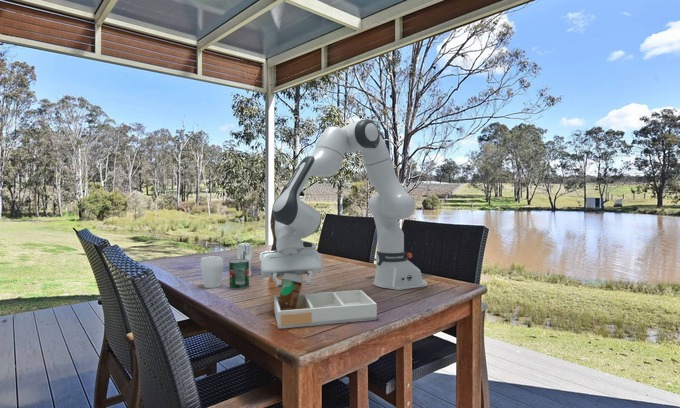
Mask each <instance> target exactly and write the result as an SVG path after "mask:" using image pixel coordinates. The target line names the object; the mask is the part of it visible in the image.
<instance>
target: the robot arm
mask: <svg viewBox="0 0 680 408" xmlns="http://www.w3.org/2000/svg"><path fill="white" fill-rule="evenodd" d="M356 152H357V153H358V152H359V153H360V154H361V157H362V160H363V164H364V169H365V172H366V174H367V178H368V181H369V183H370V185H371V186H372V187H374V189H375V190H376V192H377V193H375V194H373V195H372V196H371V197H370V198H369V200H368V204H367V205H368V209H369V212H370V213H371V214H372V216H373V220H374V224H375V227H376V235H377V236H376V237H377V240H376V242H377V243H376V244H377V249H376V253H375V254H376V255H375V256H376V257H375V261H376V270H375V271H376V272H375V276H374V280H373V285H374V286H376V287H378V288H384V289H391V290H396V291H401V290H409V289H417V288H423V287H428V282H427V281H426V280H425V279H423V277H422V275H423V274H422V271H421V269H420V268H419V267H417V266H416V265H415V264H414V263H413V262H411V261H410V260H409V259H412V257H413V254H412V253H411V252H406V251H405V234H404V231H403V229H402V228H401V226H400V224H399V221H398V220H403V219H408V218H410V217H412V216H413V214H414V213H415V211H416V202H415V199H414V198H413V197H412V196H411V195H410V194H409V193H408V192H407V191H406V189H405V188H404V187H403V185H402V183H401V182H400V179H399V178H398V177H397V174H396V170H395V167H394V165H393V162H392V157H391V154H390V153H389V149H388V147H387V144H386V142H385V140H384V138H383V137H382V136H381V134H380V129H379V128H378V125H377V124H376V123H375V122H374V121H373V120H371V119H360V120H359V121H354V122H350V123H348V124H346V125H344V126H342V127H338V126H335V125H334V126H328V127H326V128H325V129H324V131H323V133H322V134H321V135H320V137H319V139H318V141H317V143H316V145H315V148H314V150H313V152H312V154H311V155H308V156H305V157H304V158H303V159H302V160H300V162H299V164H298V165H297V166H296V168H295V170H294V172H293V173H292V175H291V177H290V178H289V180H288V181H287V184H286V186H285V187H284V189H283V190H282V191H281V193H280V194H279V195H278V197H277V198H276V200H275V201H274V202H273V204H272V215H273V218H274V236H275V239H276V241H275V246H276V250H268V251H267V250H265V251H263V252H261V253H260V254H259V256H258V262H260V275H261V276H262V278H271V279H272V281H274V283H275V284H276V288H281V287H282V279H278V277H282V276H283V275H284V273H289V274H295V275H300V276H303V275H304V276H305V275H307V277H305V278H304V279H305V281H304V283H305V284H304V285H305V286H310V285H311V279H312V276H313V275H314V274H321V272H322V270H323V263H322V262H323V261H322V258H321V256H320V252H318V250H317V249H316V244H315V242H311V241H306V240H302V239H305V238H307V237H309V236H311V235H313V234H315V233H316V232H317V231H319V229H320V226H321V223H322V215H321V212H320V211H319V210H317V209H316V208H314V207H313V206H311V205H309V204H307V203H305V202H303V201H302V200H301V198H300V194H301V193H302V191H303V189H304V187H305V185H306V183H307V182H308V179H309V178H310V177H311V176H313V177H317V178H318V177H319V178H329V177H332V176H334V175H335V174H337V173H338V171H339V170H340V168H341V165H342V163H343V161H344V157H345V155H347V154H349V153H350V154H351V153H356Z"/></svg>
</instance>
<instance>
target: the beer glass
mask: <svg viewBox="0 0 680 408" xmlns="http://www.w3.org/2000/svg"><path fill="white" fill-rule="evenodd" d="M236 258H237V259H247V260H249V278H250V277H251V276H252V271H251V270H252V269H251V265H252V258H253V245H252V243H251V242H240V243H237V245H236Z"/></svg>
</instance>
